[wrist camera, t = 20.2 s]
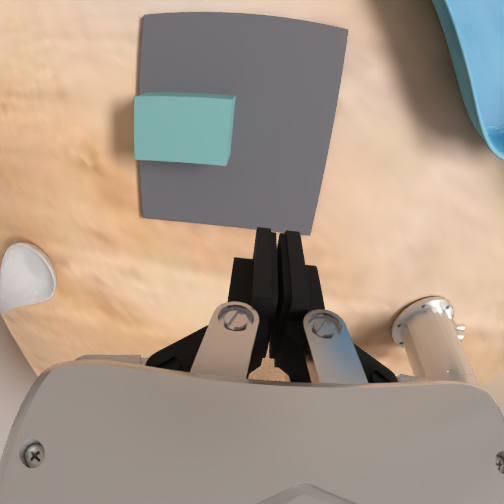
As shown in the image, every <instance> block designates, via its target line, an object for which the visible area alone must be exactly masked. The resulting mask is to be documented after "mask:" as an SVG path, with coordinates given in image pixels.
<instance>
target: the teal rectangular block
mask: <svg viewBox="0 0 504 504" xmlns="http://www.w3.org/2000/svg"><path fill="white" fill-rule="evenodd" d="M235 99H236V95H224V94H208V93H185V92H147V93H144V94H141V95H138V96H135V97H134V155H135V160H150V161H168V162H183V163H196V164H208V165H219V166H226V165H227V162H228V160H229V157H230V152H231V141H232V130H233V120H234V109H235Z"/></svg>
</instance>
